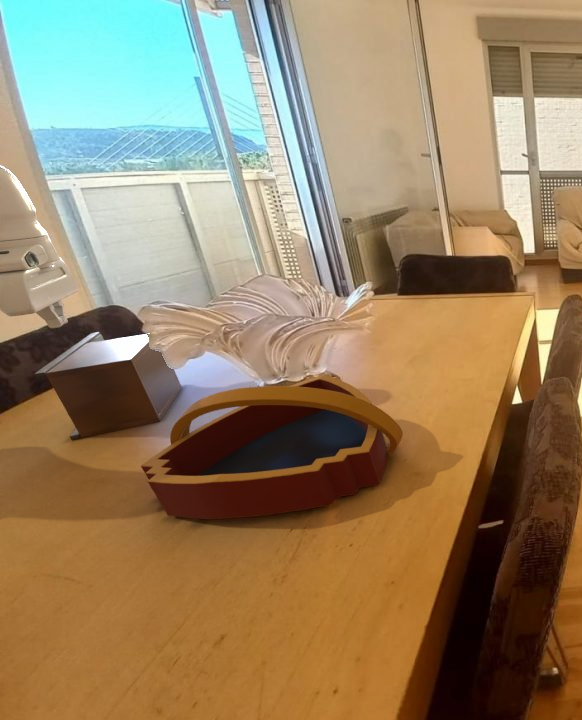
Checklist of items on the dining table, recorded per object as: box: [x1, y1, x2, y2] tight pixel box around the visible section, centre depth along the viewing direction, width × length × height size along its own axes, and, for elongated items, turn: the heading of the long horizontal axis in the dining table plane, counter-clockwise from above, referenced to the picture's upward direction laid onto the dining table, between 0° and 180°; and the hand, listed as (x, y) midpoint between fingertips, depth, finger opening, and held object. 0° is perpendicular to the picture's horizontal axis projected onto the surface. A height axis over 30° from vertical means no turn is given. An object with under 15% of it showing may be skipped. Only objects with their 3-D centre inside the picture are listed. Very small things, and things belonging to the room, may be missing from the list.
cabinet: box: [33, 331, 183, 441], centre depth 95 cm, size 12×25×13 cm, turn 30°
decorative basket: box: [140, 374, 404, 520], centre depth 73 cm, size 34×29×15 cm
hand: (59, 325), depth 92 cm, fingers closed
